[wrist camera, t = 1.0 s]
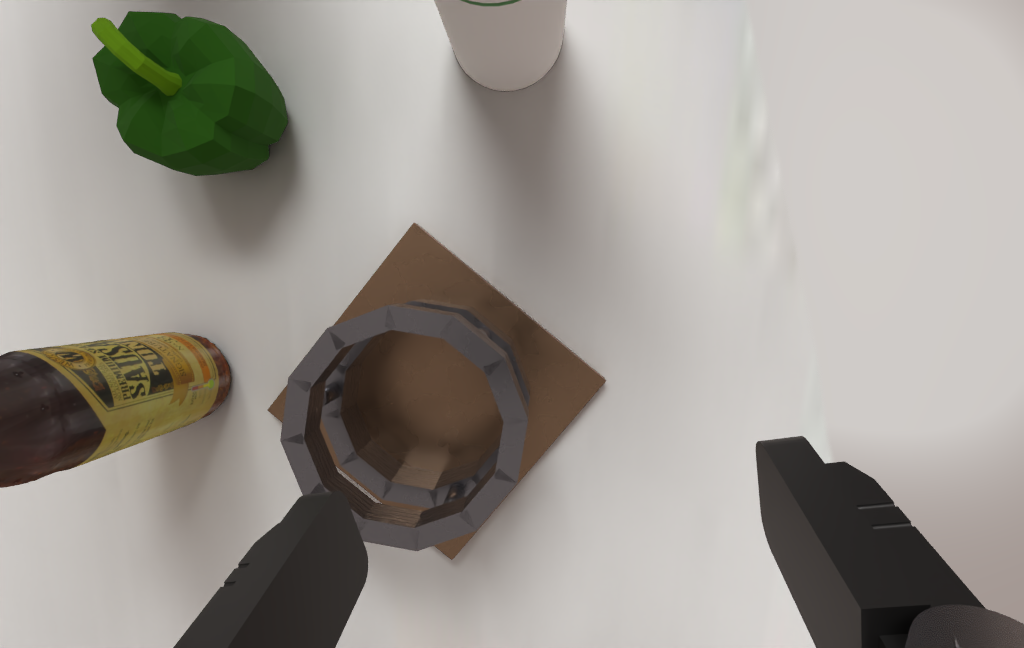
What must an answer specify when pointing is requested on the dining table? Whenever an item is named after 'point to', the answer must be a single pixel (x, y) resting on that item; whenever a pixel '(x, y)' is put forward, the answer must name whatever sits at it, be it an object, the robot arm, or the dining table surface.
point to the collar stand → (428, 400)
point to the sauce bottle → (101, 399)
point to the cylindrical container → (504, 39)
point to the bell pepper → (188, 93)
